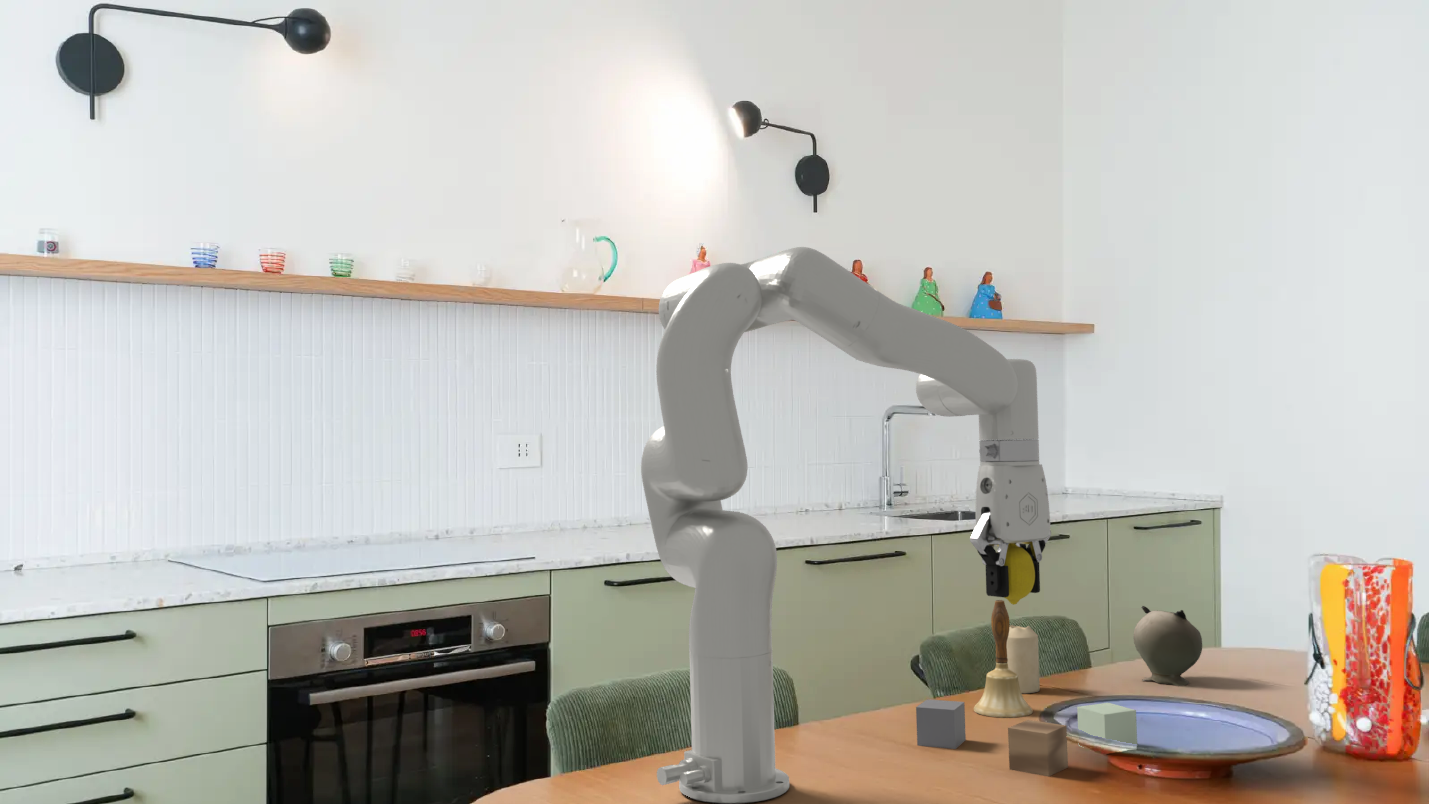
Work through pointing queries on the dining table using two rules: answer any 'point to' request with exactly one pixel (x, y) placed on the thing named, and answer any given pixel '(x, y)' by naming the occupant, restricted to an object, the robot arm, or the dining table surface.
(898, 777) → the dining table surface
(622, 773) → the dining table surface
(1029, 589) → the lemon
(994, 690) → the hand bell
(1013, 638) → the candle
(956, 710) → the charcoal cube
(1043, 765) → the walnut cube
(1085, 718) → the sage cube
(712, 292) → the robot arm
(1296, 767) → the dining table surface
